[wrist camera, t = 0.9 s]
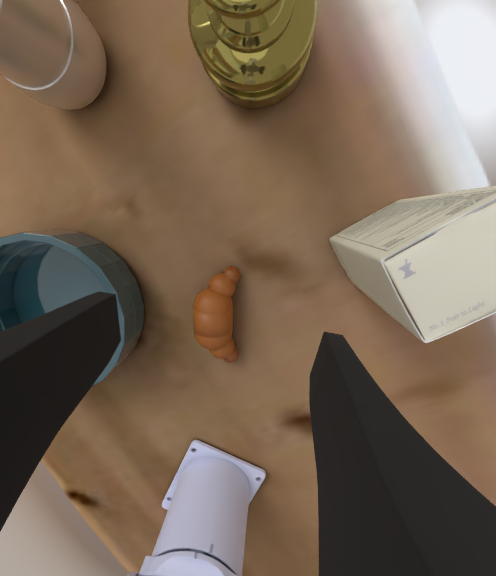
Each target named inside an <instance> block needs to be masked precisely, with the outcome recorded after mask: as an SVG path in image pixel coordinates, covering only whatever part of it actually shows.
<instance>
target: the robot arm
mask: <svg viewBox="0 0 496 576" xmlns="http://www.w3.org/2000/svg"><path fill="white" fill-rule="evenodd" d="M120 341H121V334H120V326H119V317H118V309H117V300H116V294H111V293H105V292H100V291H99V292H96V293H93V294H90V295H88V296H85V297H83V298H80V299H78V300H76V301H73V302H71V303H69V304H66V305H64V306H62V307H59V308H57V309H55V310H52V311H50V312H48V313H45V314H43V315H41V316H38V317H36V318H34V319H31V320H29V321H26V322H24V323H21V324H18V325H16V326H13V327H11V328H8V329H6V330H3V331H1V332H0V531H1V529H2V527H3V525H4V524H5V522H6V520H7V518H8V516H9V514H10V513H11V511H12V509H13V507H14V505H15V503H16V502H17V500H18V498H19V496H20V494H21V493H22V491H23V489H24V488H25V486H26V484H27V482H28V481H29V479H30V477H31V475H32V474H33V472H34V470H35V468H36V467H37V465H38V463H39V462H40V460H41V459H42V457H43V455H44V454H45V452H46V450H47V449H48V447H49V446H50V444H51V442H52V441H53V439H54V437H55V436H56V434H57V433H58V431H59V430H60V428H61V427H62V426H63V424H64V423H65V421H66V420H67V419H68V417H69V416H70V415H71V413H72V412H73V411H74V409H75V408H76V407H77V405H78V404H79V403H80V401H81V400H82V399H83V397H84V396H85V395H86V393H87V392H88V391H89V389H90V388H91V387H92V385H93V384H94V383H95V381H96V380H97V379H98V377H99V376H100V375H101V373H102V372H103V370H104V369H105V368H106V366H107V365H108V363H109V361H110V360H111V358H112V356H113V355H114V353H115V351H116V349H117V347H118V345H119V343H120ZM310 413H311V423H312V432H313V441H314V450H315V459H316V468H317V480H318V512H319V576H496V506H494V505H493V504H492V503H491V502H490V501H489V500H488V499H486V498H485V497H484V496H483V495H482V494H481V493H480V492H479V491H477V490H476V489H475V488H474V487H473V486H472V485H471V484H470V483H469V482H467V481H466V480H465V479H464V478H463V477H462V476H461V475H460V474H459V473H458V472H457V471H456V470H455V469H454V468H453V467H452V466H450V465H449V464H448V463H447V462H446V461H445V460H444V459H443V458H442V457H441V456H440V455H439V454H438V453H437V452H436V451H435V450H434V449H433V448H432V447H431V446H430V445H429V444H428V443H427V442H426V441H425V440H424V438H423V437H422V436H421V435H420V434H419V433H418V432H417V431H416V430H415V429H414V428H413V427H412V426H411V425H410V424H409V422H408V421H407V420H406V419H405V418H404V417H403V416H402V414H401V413H400V412H399V411H398V410H397V408H396V407H395V406H394V405H393V404H392V402H391V401H390V400H389V399H388V398H387V396H386V395H385V394H384V393H383V391H382V390H381V389H380V387H379V386H378V385H377V384H376V382H375V381H374V380H373V378H372V377H371V375H370V374H369V373H368V371H367V370H366V369H365V367H364V366H363V364H362V363H361V361H360V360H359V359H358V357H357V356H356V354H355V353H354V351H353V350H352V348H351V347H350V345H349V344H348V342H347V341H346V340H345V338H344V337H343V335H339V334H334V333H328V332H324V333H323V336H322V339H321V343H320V346H319V349H318V352H317V355H316V358H315V361H314V364H313V367H312V371H311V374H310ZM193 448H195V449H196V450H194V449H193ZM265 476H266V472H265V470H263V469H261V468H259V467H257V466H254V465H252V464H250V463H248V462H245V461H243V460H241V459H239V458H237V457H234V456H232V455H230V454H228V453H225V452H223V451H221V450H219V449H216V448H214V447H212V446H210V445H208V444H205V443H203V442H201V441H199V440H193V441H192V443H191V445H190V447H189V449H188V451H187V453H186V455H185V457H184V459H183V461H182V463H181V465H180V467H179V469H178V471H177V473H176V475H175V477H174V479H173V481H172V484H171V486H170V488H169V490H168V492H167V494H166V496H165V498H164V500H163V502H162V507H163V508H164V509H166V510H168V512H167V515H166V517H165V520H164V523H163V526H162V528H161V531H160V534H159V537H158V540H157V542H156V545H155V548H154V551H153V553H152V556H146V557H145V559H144V562H143V565H142V567H141V570H140V573H139V574H138V573H136V572H130V573H128V574H127V575H126V576H242V569H243V558H244V548H245V537H246V527H247V516H248V506H249V503H250V502H251V500H252V498H253V497H254V495H255V493H256V492H257V490H258V489H259V487H260V485H261V484H262V482H263V480H264V479H265ZM257 477H259V478H257Z"/></svg>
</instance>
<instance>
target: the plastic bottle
mask: <svg viewBox="0 0 496 576" xmlns="http://www.w3.org/2000/svg"><path fill="white" fill-rule="evenodd" d="M0 74H1V75H3V76H4V77H5V78H6V79H7V80H9V81H10V82H11V83H12V84H14V85H15V86H16V87H18V88H19V89H21V90H22V91H24V92H25V93H27V94H28V95H30V96H31V97H33V98H34V99H36V100H37V101H39V102H41V103H43V104H46V105H49V106H53V107H57V108H62V109H68V110H74V109H80V108H83V107H85V106H87V105H88V104H90V103H92V102H93V100H94V99H95V98H96V97H97V96H98V95H99V93H100V92H101V90H102V88H103V85H104V82H105V76H106V57H105V51H104V47H103V44H102V41H101V39H100V37H99V35H98V33H97V31H96V30H95V28H94V27H93V25H92V24H91V22H90V21H89V19H88V18H87V16H86V15H85V14H84V12H83V11H82V9H81V8H80V7H79V6H78V5H77V4H76V3H75V2H74V1H73V0H0Z"/></svg>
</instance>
